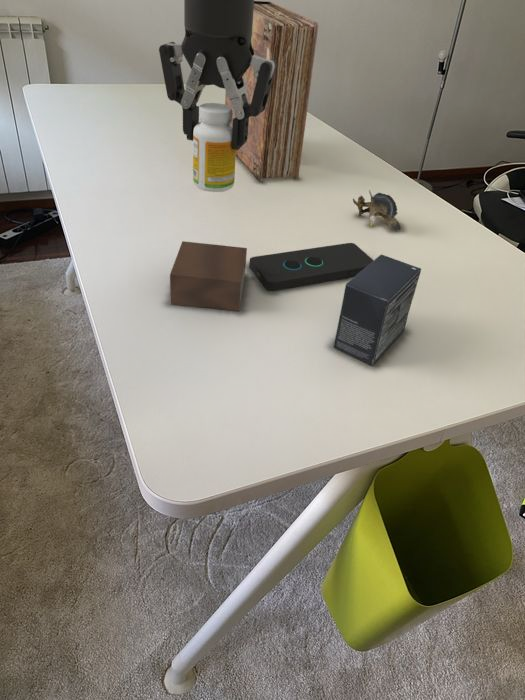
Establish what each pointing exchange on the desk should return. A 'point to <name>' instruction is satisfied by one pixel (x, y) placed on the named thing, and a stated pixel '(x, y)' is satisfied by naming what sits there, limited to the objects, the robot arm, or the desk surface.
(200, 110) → the supplement bottle
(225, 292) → the walnut block
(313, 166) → the desk surface
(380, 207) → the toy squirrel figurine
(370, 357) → the small box
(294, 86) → the book
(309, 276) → the smart home device
